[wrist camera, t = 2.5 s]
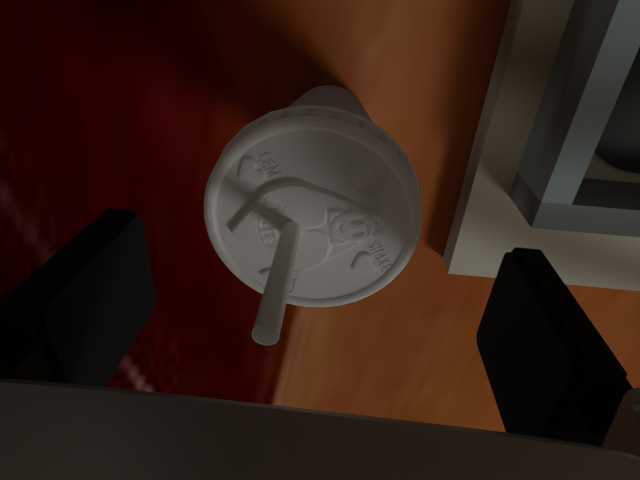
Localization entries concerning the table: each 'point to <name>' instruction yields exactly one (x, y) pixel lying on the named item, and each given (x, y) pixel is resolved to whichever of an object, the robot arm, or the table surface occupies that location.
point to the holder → (558, 147)
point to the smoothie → (313, 206)
